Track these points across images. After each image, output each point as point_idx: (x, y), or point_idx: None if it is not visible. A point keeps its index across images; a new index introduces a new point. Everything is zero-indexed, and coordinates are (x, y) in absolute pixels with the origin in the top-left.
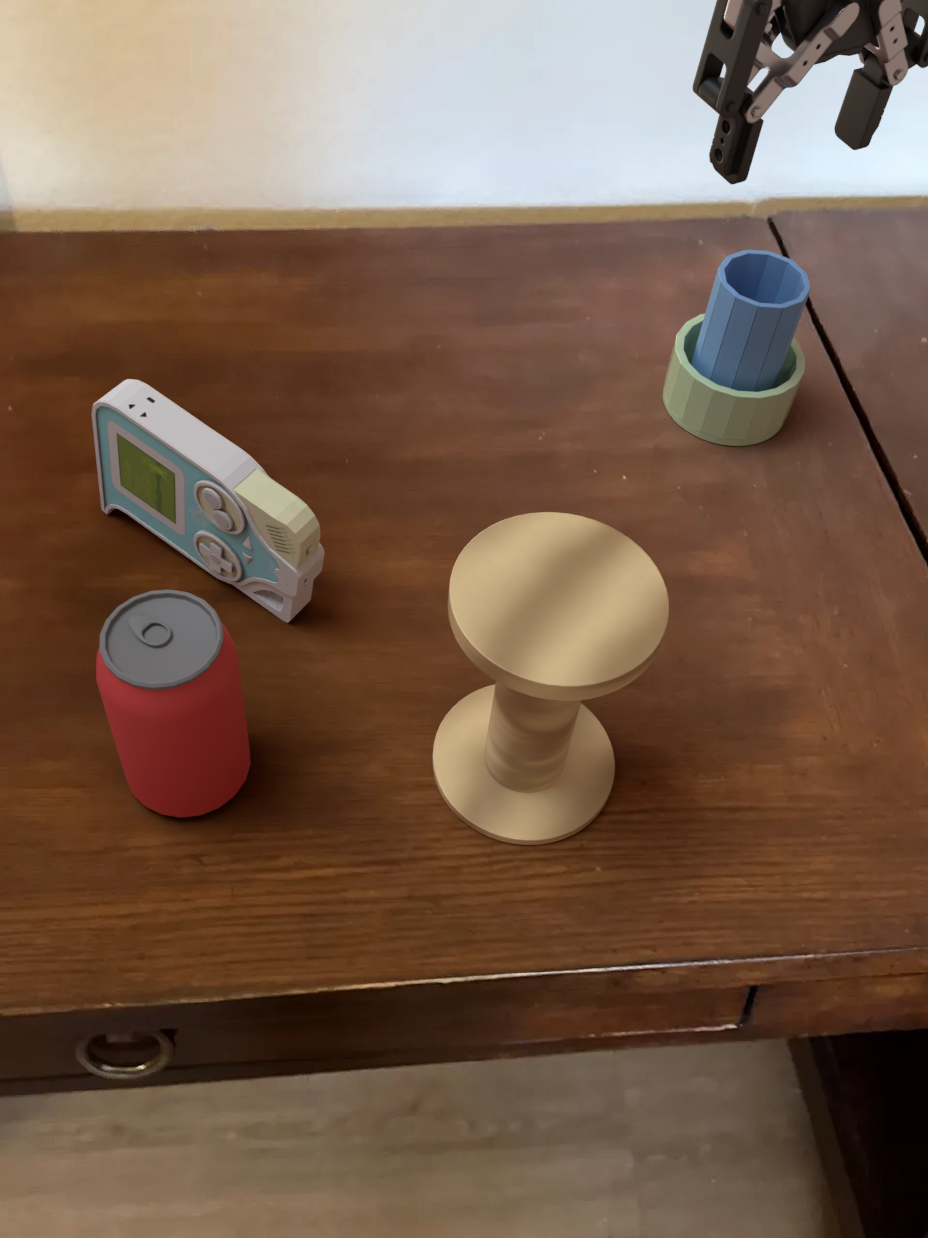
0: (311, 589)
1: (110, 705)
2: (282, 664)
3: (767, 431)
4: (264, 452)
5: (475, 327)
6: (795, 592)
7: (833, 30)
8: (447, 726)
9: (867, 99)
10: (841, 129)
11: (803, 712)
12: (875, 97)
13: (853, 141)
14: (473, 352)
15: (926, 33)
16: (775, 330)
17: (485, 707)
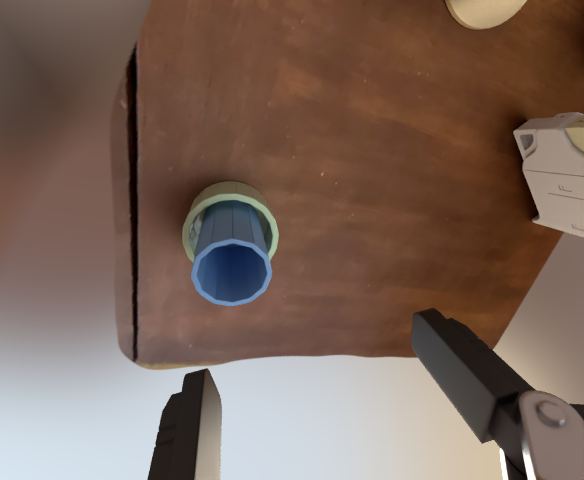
0: (525, 129)
1: None
2: (544, 93)
3: (219, 184)
4: (474, 232)
5: (345, 296)
6: (258, 33)
7: None
8: (517, 5)
9: (204, 464)
10: (217, 404)
11: None
12: (197, 471)
13: (209, 382)
14: (354, 279)
15: None
16: (232, 228)
17: (493, 11)
